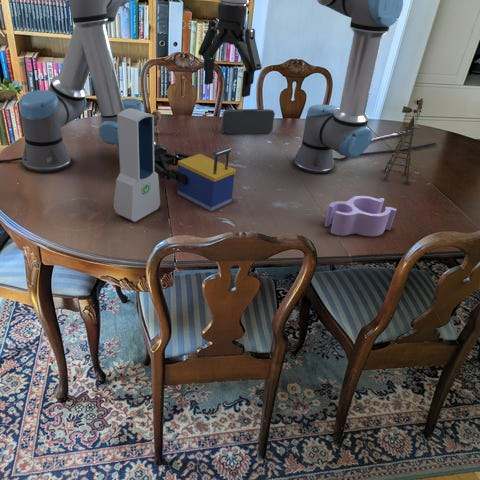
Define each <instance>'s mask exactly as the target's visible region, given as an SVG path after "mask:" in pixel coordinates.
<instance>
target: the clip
mask: <svg viewBox="0 0 480 480" xmlns="http://www.w3.org/2000/svg"><path fill="white" fill-rule="evenodd" d="M384 201H385V198H383V197H379V198H376V197H373V196H368V195H357V196H352V197H350V198H349V200H347V201H339V200H338V201H337V200H335V201H332V202H330V203H329V205H328V208H327V214H326V218H325V222H324V227H326V228H329V227H330V226H331V227H330V233H331V234H333V235H336V236H348V235H353V234H356V235H360V236H364V237H365V236H366V237H378V236H381V235H382V234H384V232H385V230H387V231H391V229H392V226H393V222H394V219H395V216H396V213H397V210H398V209H397V208H395V207H391V206H385V207H384V211H383V212H382V209H383V206H384Z"/></svg>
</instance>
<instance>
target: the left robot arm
mask: <svg viewBox="0 0 480 480" xmlns="http://www.w3.org/2000/svg"><path fill="white" fill-rule="evenodd" d="M127 1H128V0H68V4H69V11H70V14H71V19H72V23H73V25H74V27H73V30H72V32H71V33H72V34H71V36H70V39H69V43H68V46H67V49H66V52H65V54H64V58H63V61H62V64H61V67H60V69H59V73H58V75H56V76H53V77H52V78H51V81H50V84H49V86H48V89H47V90H46V89H37V90H36V89H35V90H34V91H28V92H26V93H24V94H23V95H21V96H20V98H19V100H18V105H19V110H18V111H19V114H20V119H21V125H22V132H23V137H24V148H23V153H22V157H16V158H10V159H0V163H9V162H14V161H20V160H21V161H22V166H23V168H24V169H25V170H27V171H29V172H33V173H39V174H46V173H56V172H61V171H63V170H66V169H67V168H69V167H70V166H71V163H72V159H71V155H70V153H69V151H68V150H67V149H68V148H67V147H66V145H65V143H64V140H63V132H62V127H64V126H66V125H68V124H69V123H71V122H73V121H75V120H77V119H79V118H80V117H81V116H82V115H83V113H84V112H85V111H86V108H87V98H86V96H87V89H86V88H85V85H86V83H87V80H88V77H89V75H90V78H91V82H92V86H93V90H94V93H95V98H96V102H97V106H98V110H99V114H100V119H101V124H100V125H99V128H98V135H99V137H100V139H101V140H102V141H103V142H104V143H105V144H107V145H112V146H113V145H116V147H117V148H118V149H119V138H118V118H117V115H118V114H119V113H120V112H121V111H123V110H125V109H129V108H132V109H136V110H139V111H142V112H145V111H144V103H143V101H142V100H140V99H138V98H125V99H124V98H122V94H121V89H120V85H119V80H118V75H117V70H116V66H115V61H114V57H113V52H112V48H111V43H110V39H109V33H108V29H107V27H108V24H111V23H114V22H115V20H116V17H117V15H118V12H119V9H120V8H121V7H123V6H124V5H125V4H126V3H127ZM191 156H192V155H190V154H187V153H184V152H182V151H179V150H175V152H174V153H172V152H168V151H167V149H166V148H165V147H164V146H163V145H160V144H158V143H156V142H154V172H156V173H157V174H158V178H159V179H165V177H166V180H167V181H169V180H171V179H172V180H175V181H177V182H178V181H179V182H181V183H183V184H185V185H186V184H187V176H186V175H184V174H182V173H180V172H178V170H176V169H173V168H172V169H171V168H170V167H169V166H175V167H176V166H177V167H178V161H179V160H182V159H185V158H188V157H191Z"/></svg>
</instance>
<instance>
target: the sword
mask: <svg viewBox="0 0 480 480" xmlns="http://www.w3.org/2000/svg"><path fill="white" fill-rule="evenodd" d="M400 132H401V131H396V132H395V133H390V134H386V135H381V136H378V137H374V138H373V137H372V139H371V142H370V143H372V142H374V141H378V140H381V139H385V138H390V137H394V136H402V135H403V134H404V133H400ZM407 134H410V133H409V132H408V133H407Z"/></svg>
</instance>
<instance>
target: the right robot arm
mask: <svg viewBox="0 0 480 480" xmlns="http://www.w3.org/2000/svg"><path fill="white" fill-rule="evenodd" d="M316 1H317V3H318V4H319V5H321V6H324V7H327V8H329V9H330V10H333V11H335V12H337V13H339V14H340V15H342V16H345V17H348V18H351V19H350V23H349V24H350V25H349V28H350V29H351V31H352V40H351V46H350V51H349V57H348V62H347V67H346V72H345V77H344V81H343V88H342V94H341V99H340V103H339V106H336V105H332V104H313V105H311V106H309V107H308V109H307V113H306V116H305V121H304V127H303V134H302V141H301V145H300V147H299V148H298V150H297V152H296V154H295V156H294V159H293V165H294V166H295V167H296V168H297V169H298V170H300V171H303V172H306V173H310V174H317V175H323V174H329V173H331V172H332V171H333V170H334V166H335V161H339V162H341V161H345V160H347V159H354V158H357V157H362V156H370V155H377V154H387V153H393V152H394V151H395V149H396V148H395V149H388V150H387V149H386V150H377V151H369V152H366V150H367V149H368V147H369V146H370V145H371V143H372V142H371V139H373V132H372V130H371V129H370V128H369V127H368V123H369V116H368V115H367V113H366V112H367V106H368V102H369V97H370V94H371V93H370V92H371V88H372V84H373V79H374V75H375V69H376V65H377V61H378V56H379V52H380V48H381V43H382V39H383V36H385V35H387V33H388V32H389V30H390V27H391V26H392V25H394V24H395V23H396V22H398V19H399V18H400V16H401V14H402V12H403V7H404V0H316ZM218 2H219V3H218V4H217V15H216V17H217V19H213V20H212V19H211V20H208V24H207V25H208V26H207V30H206V32H205V35H204V37H203V40H202V42H201V45H200V47H199V49H198V51H197V53H198V55H199V56H201V57H202V58H203V71H204V81H203V83H204V85H205V86H207V85H211V84H214V73H215V72H214V71H215V70H214V69H215V58H214V56H215V55H216V53H217V52H218V51H219V49H220V48H221V47H222V46H223V44H229V45H231V46H234V48H235V49H236V50H237V52H238V55H239V56H240V59H241V61H242V63H243V66H244V68H245V70H243V72H242V73H243V75H242V83H241V85H242V86H241V94H240V95H241V98H247V97H250V96H251V89H252V85H253V84H254V82H255V81H254V80H255V73H256V71H261V70H262V69H263V68H262V62H261V58H260V55H259V50H258V46H257V42H256V30H255V28H246V23H247V21H248V11H249V8H248V6H247V4H248V3H249V0H218ZM217 32H218V33H217ZM434 142H435V143H432V142H431V143H432V144H428V143H424V144H420V145H415V146H412V148H411V150H414V149H420V148H424V147H428V146H432V145H436V143H437V142H436V141H434ZM398 149H399V148H397V151H398ZM404 151H408V147H403V148H402V147H401V149H400V151H399V152H404ZM334 152H336V153H338V154H339V155H340V156H343V157H340V158H338V157H334Z"/></svg>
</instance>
